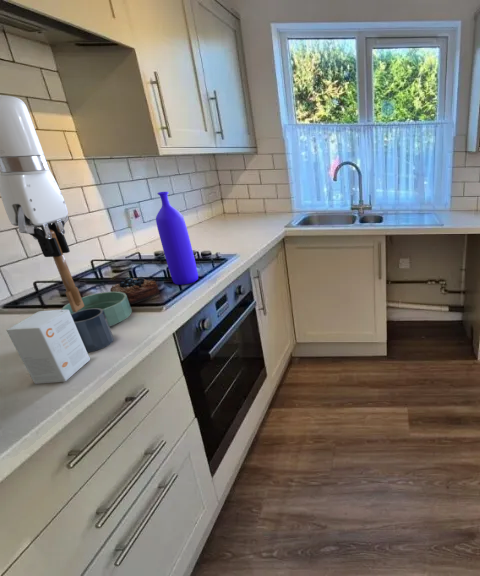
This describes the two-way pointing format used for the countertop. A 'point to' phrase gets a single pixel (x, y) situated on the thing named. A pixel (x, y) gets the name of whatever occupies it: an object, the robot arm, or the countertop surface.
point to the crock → (93, 328)
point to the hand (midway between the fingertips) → (57, 254)
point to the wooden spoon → (67, 280)
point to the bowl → (107, 305)
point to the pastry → (136, 289)
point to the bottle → (176, 243)
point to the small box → (49, 346)
